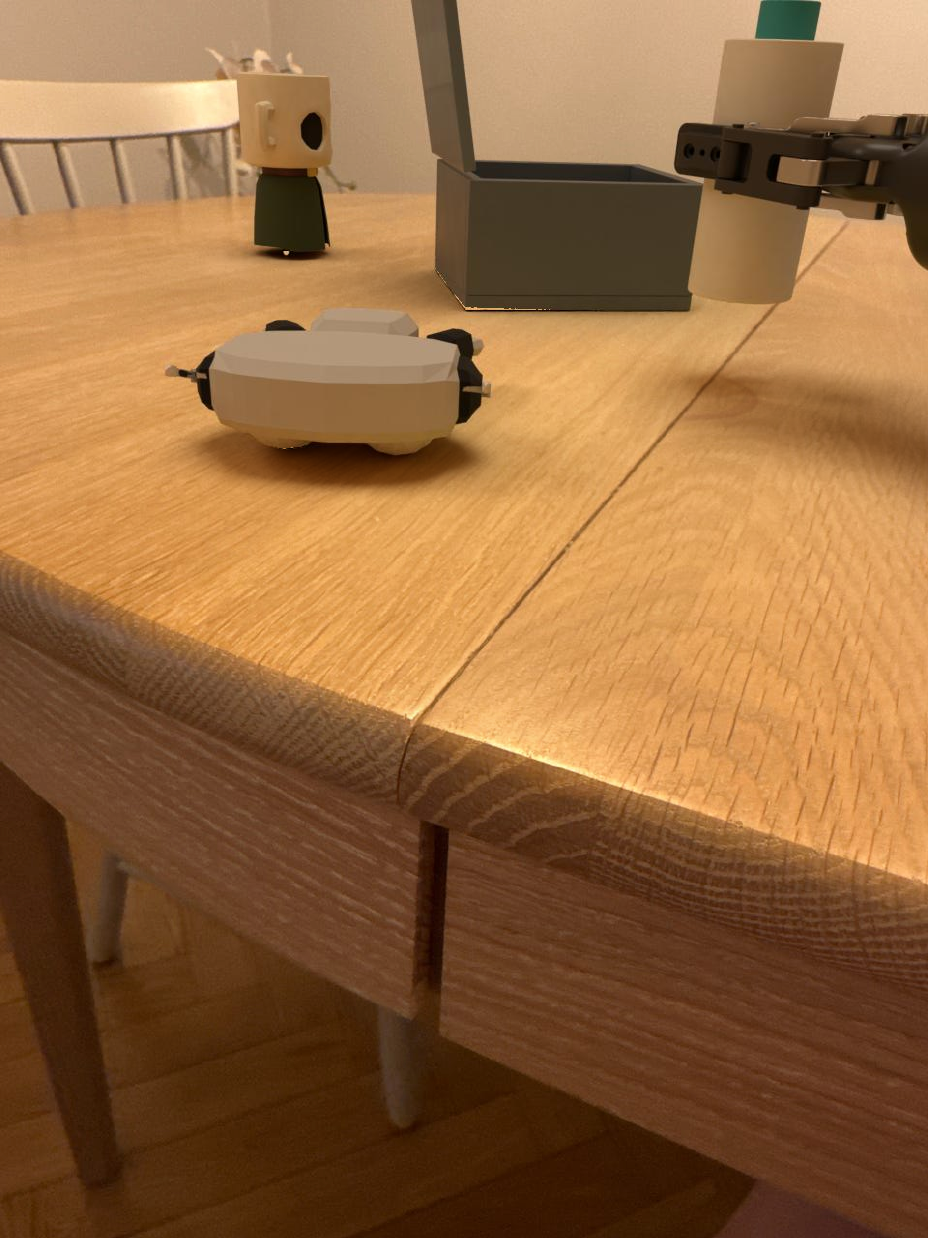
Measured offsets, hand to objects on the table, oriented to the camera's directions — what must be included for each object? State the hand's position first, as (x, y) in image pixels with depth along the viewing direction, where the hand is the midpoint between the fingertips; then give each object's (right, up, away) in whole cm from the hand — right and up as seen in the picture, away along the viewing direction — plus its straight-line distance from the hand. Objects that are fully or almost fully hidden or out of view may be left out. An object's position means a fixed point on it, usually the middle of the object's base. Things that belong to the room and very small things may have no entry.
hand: (721, 146), depth 46 cm
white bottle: (+1, -7, +2) cm, 7 cm away
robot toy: (-18, -15, -4) cm, 23 cm away
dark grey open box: (-6, +1, +24) cm, 24 cm away
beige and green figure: (-27, +7, +32) cm, 43 cm away
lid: (-14, +15, +14) cm, 25 cm away
